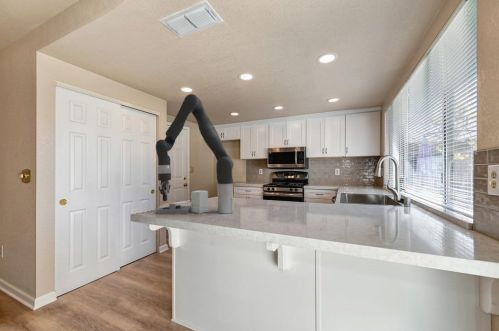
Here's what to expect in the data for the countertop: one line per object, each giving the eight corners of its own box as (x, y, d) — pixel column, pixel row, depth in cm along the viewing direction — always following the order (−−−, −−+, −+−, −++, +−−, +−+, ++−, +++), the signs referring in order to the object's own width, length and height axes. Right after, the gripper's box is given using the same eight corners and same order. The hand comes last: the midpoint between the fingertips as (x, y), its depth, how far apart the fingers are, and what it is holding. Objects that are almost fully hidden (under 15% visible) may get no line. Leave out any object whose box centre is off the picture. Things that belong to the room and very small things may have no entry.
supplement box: (208, 211, 134) (208, 190, 134) (199, 213, 127) (199, 192, 127) (199, 210, 138) (199, 190, 138) (190, 212, 131) (190, 191, 131)
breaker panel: (192, 209, 139) (192, 200, 139) (187, 213, 127) (186, 204, 127) (164, 209, 139) (164, 200, 139) (156, 214, 127) (156, 204, 127)
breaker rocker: (190, 201, 137) (189, 199, 137) (186, 204, 129) (185, 201, 129) (165, 205, 137) (164, 203, 137) (159, 208, 129) (159, 205, 129)
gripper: (166, 172, 126) (166, 202, 126) (174, 172, 139) (175, 199, 139) (153, 173, 126) (154, 202, 126) (162, 172, 139) (163, 199, 139)
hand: (165, 200), depth 133 cm, fingers closed
